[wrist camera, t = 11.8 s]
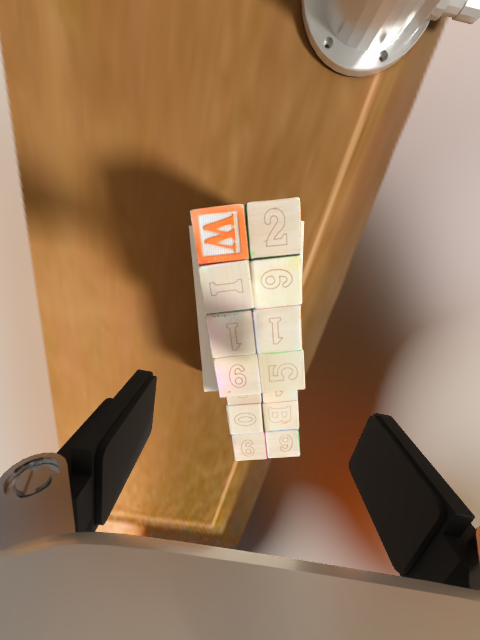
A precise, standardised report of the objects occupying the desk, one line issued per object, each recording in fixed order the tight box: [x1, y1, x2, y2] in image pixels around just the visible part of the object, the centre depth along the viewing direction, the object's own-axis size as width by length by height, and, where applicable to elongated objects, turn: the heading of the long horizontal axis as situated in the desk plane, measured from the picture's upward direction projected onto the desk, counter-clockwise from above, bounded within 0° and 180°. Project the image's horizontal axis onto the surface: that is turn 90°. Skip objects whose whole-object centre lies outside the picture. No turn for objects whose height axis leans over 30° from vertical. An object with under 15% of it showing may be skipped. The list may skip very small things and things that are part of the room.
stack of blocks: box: [190, 197, 305, 461], centre depth 22 cm, size 21×6×12 cm, turn 6°
